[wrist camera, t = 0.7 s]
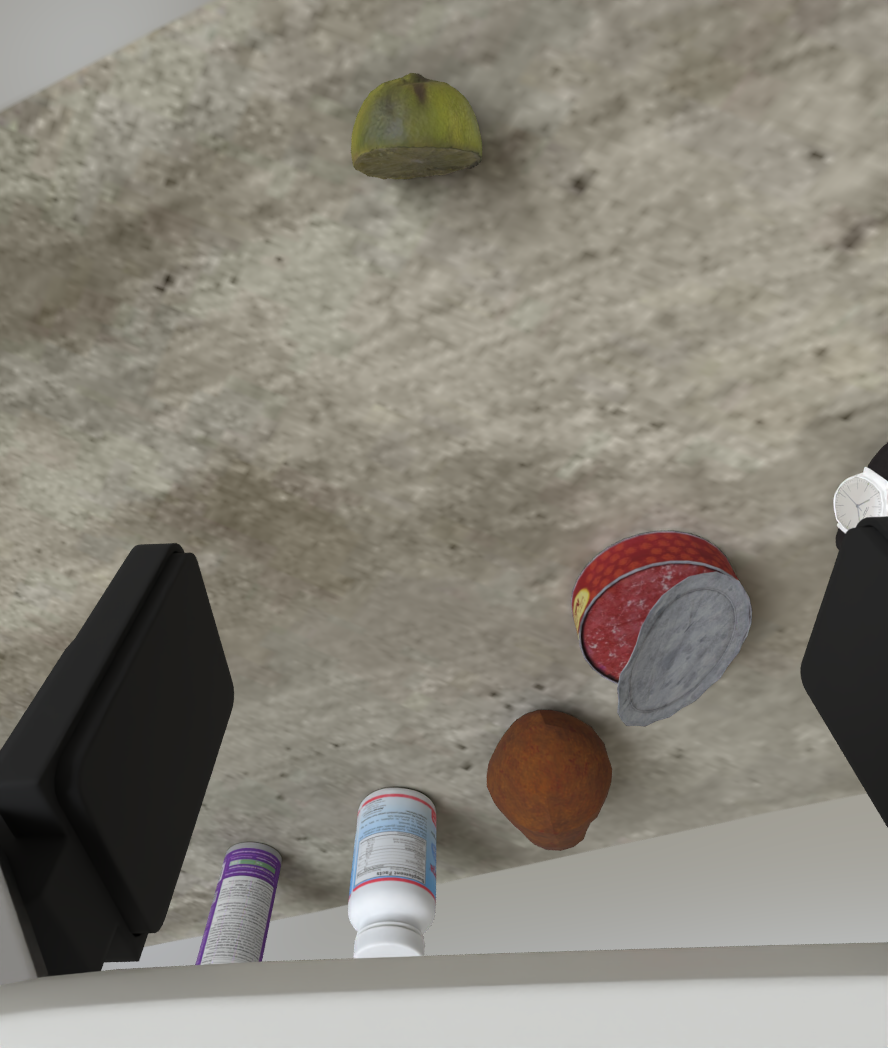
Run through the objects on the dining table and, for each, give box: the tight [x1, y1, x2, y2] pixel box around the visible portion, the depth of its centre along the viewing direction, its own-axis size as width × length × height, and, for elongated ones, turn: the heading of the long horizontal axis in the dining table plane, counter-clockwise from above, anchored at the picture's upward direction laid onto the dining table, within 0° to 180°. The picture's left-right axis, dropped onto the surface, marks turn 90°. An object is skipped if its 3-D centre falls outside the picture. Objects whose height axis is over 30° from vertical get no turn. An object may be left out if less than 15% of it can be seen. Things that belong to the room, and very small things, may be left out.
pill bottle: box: [348, 788, 436, 958], centre depth 50 cm, size 6×6×11 cm
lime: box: [351, 73, 482, 179], centre depth 27 cm, size 4×5×5 cm
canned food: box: [571, 531, 752, 726], centre depth 40 cm, size 11×10×10 cm
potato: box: [487, 710, 612, 851], centre depth 46 cm, size 8×11×8 cm
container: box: [195, 842, 282, 965], centre depth 52 cm, size 5×5×15 cm
